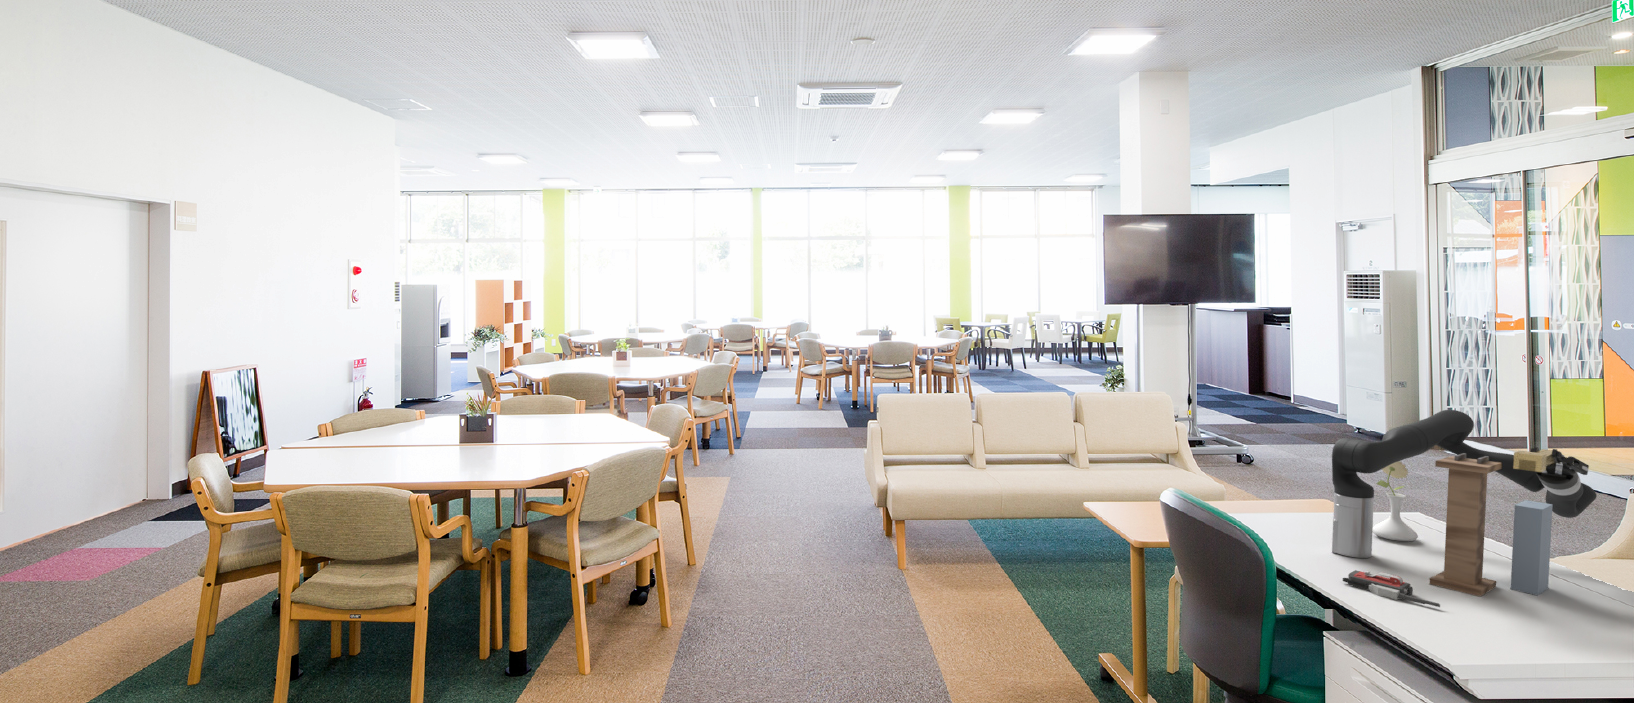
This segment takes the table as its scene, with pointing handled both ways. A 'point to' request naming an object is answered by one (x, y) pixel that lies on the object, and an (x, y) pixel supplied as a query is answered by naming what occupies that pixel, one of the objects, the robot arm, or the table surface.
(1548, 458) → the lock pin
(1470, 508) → the brown wooden pedestal
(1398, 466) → the flower in vase
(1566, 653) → the table surface
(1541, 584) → the grey rectangular pillar
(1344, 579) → the red long two-tone device
